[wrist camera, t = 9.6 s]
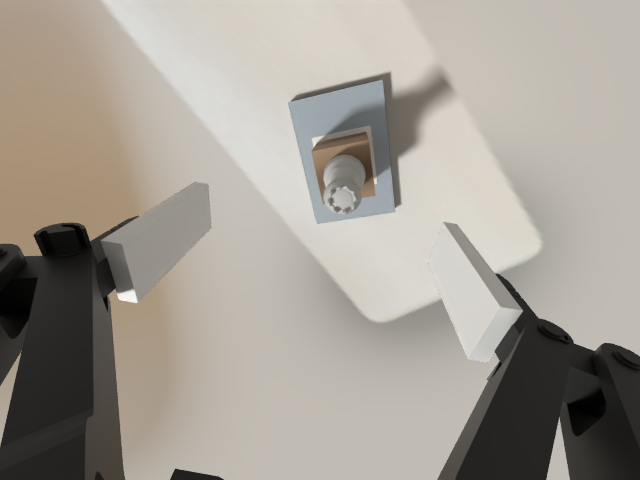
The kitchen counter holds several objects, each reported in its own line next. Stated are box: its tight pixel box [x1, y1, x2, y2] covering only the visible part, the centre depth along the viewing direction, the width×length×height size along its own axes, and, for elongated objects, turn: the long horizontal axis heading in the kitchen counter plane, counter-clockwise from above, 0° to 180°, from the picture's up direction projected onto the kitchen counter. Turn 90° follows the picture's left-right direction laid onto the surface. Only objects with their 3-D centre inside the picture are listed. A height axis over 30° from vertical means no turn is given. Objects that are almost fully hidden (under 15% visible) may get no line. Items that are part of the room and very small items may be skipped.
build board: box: [288, 80, 395, 224], centre depth 35 cm, size 16×11×1 cm
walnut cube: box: [311, 132, 376, 204], centre depth 32 cm, size 6×6×6 cm
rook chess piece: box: [323, 154, 366, 215], centre depth 26 cm, size 4×4×8 cm
